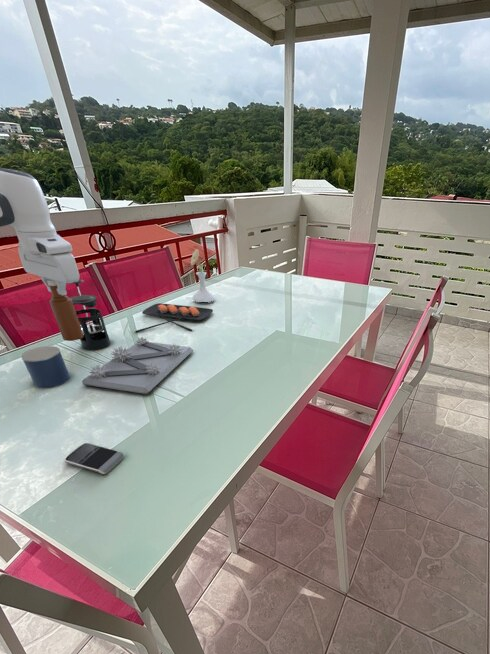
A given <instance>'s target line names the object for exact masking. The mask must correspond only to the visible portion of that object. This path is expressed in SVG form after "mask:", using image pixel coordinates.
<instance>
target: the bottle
mask: <svg viewBox="0 0 490 654" xmlns="http://www.w3.org/2000/svg"><path fill="white" fill-rule="evenodd" d="M47 283H48V285H49V287H50V290H51V292H50V293H51V296H50V299H49V301H48V302H49V305H50V308H51V310H52V312H53V316H54V318H55V321H56V323H57V326H58V329H59V331H60V334H61V337H62V340H64V341H67V342H74V341H78V340H79V341H80V339H81V338H83V337H84V334H83V332H82V329H81V327H82V326H81V323H80V321H79V320H78V317H79V316H78V315H77V314H76V311H77V310H76V308H75V305H73V302H72V299H71V297H69V296H68V295H67V294H66V295H59V294H58V293H57V290H56V289H57V288H58V287H57V284H56V282H55V280H53V279H49V280H47Z"/></svg>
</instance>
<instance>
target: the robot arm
mask: <svg viewBox="0 0 490 654" xmlns="http://www.w3.org/2000/svg"><path fill="white" fill-rule="evenodd" d="M7 226H11V227H12V228H13V229H14V231H15V234H16V236H17V239H18V247H17V251H18V255H19V256H18V257H19V259H20V262H21V266H22V267H23V270H24V271H25V273H27V274H31V275H35V276H37V277H40V279H41V281H42V282H43V284H44V285H45V286H46V288H47V291H48V292H49V293H52V292H51V290H50V287H49V285H48V283H47V280H49V279H53V280H55V282H56V284H57V287H58V288H57V289H56V290H57V293H58V294H59V295H67V294H68V292H67V289H66V287H67V284H74V283H73V282H77V281H79V279H80V272H79V268H78V265H77V262H76V259H75V257H74V255H73V254H72V252H73V247H72V244H71V243H70V242H69V241H67V240H66V239H64V238H63V237H62V236H60V234H58V233H57V230H56V227H55V225H54V224H53V222H52V220H51V212H50V208H49V205H48V202H47V199H46V197H45V194H44V191H43V189H42V188H41V185H40V184H39V182H38V180H37V179H36V178H35V177H34V176H33V175H31V174H30V173H27V172H25V171H22V170H17V169H12V168H7V167H4V168H3V167H0V228H3V227H7Z"/></svg>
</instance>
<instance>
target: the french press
mask: <svg viewBox="0 0 490 654" xmlns="http://www.w3.org/2000/svg"><path fill="white" fill-rule="evenodd" d="M83 282H84V280H83V279H80V278H79V281H77V282H73V283H72V284H75V287H76V288H77V290H78V294H79V295H74V296H70V298H71V299H72V302H73V305H74V306H75V305H80V306H83V309H78V310H75V311H76V314H77V317H78V320H79V323H80V326H81V329H82V332H83V335H84V337H83V338H81V339H79V341H80V344H81V348H82V349H83V350H85V351H98V350H103V349H106V348H108V347H109V346H110V345H111V344H112V341H111V340H110V337H109V334H108V331H107V328H106V323H105V321H104V317H103V313H102V310H100V309H98V308H96V306H97V305H98V301H97V300H98V297H97V296H96V295H93V294H92V295H91V294H81V291H80V283H83ZM86 307H87V308H86ZM81 314H86V315H85V316H84V317H82V316H81V317H79V316H78V315H81ZM88 314H89V315H90V316H89V315H88ZM87 322H88V324H87ZM91 322H92V323H91Z"/></svg>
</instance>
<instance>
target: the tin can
mask: <svg viewBox="0 0 490 654" xmlns="http://www.w3.org/2000/svg"><path fill="white" fill-rule="evenodd" d="M20 357H21V360H22V361H23V363H24V365H25V367H26V369H27V371H28V374H29V376H30V378H31V380H32V382H33V384H34V386H35V387H37V388H41V389H48V388H53V387H58V386H61V385H63V384H65V383H66V382H68V381H69V380H70V378H71V375H70V373H69V370H68V367H67V365H66V363H65V360H64V358H63V355H62V353H61V349H60V348H59V347H57V346H53V345H46V346H45V345H44V346H39V347H35V348H31V349H28V350H26V351H25V352H23V353H22V354H21V356H20Z"/></svg>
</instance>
